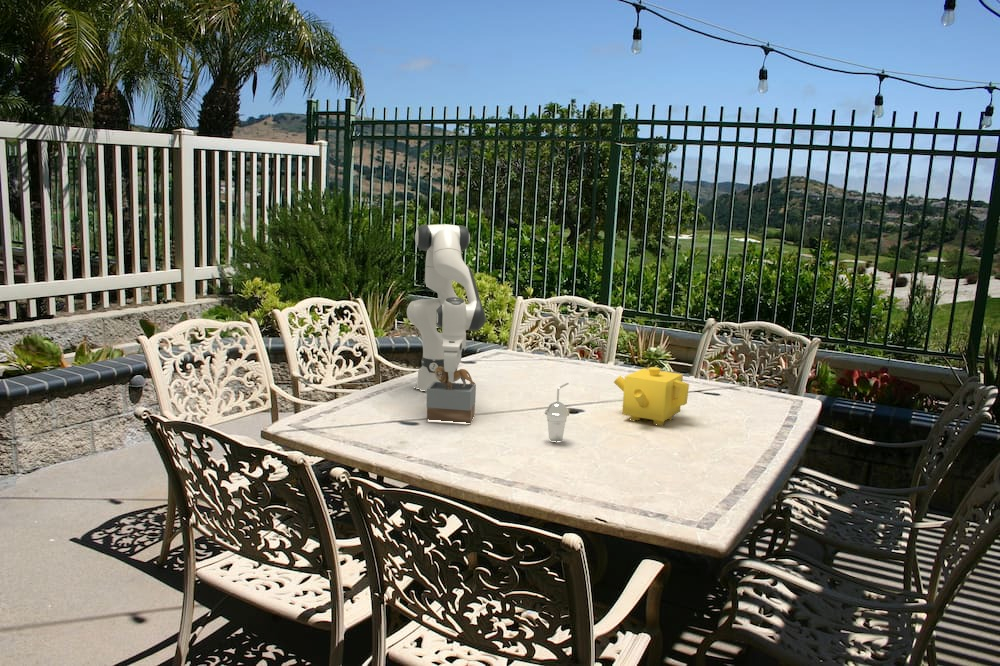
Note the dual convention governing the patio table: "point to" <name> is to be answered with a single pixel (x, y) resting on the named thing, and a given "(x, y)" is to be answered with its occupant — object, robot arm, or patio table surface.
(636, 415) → the yellow teapot
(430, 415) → the tower bottom
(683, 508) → the patio table surface
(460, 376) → the lion figurine
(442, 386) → the grey storage bin
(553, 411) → the cup with straw
